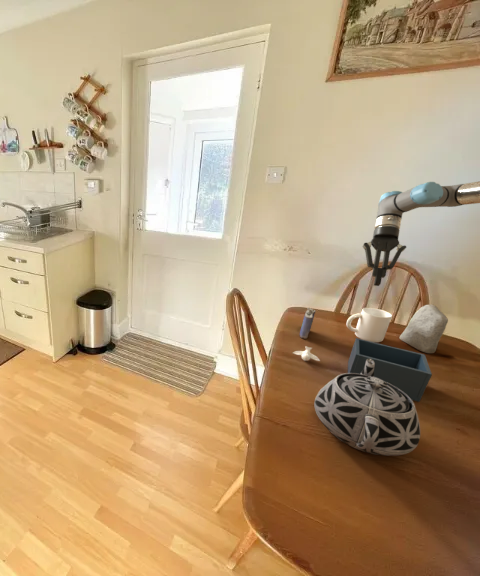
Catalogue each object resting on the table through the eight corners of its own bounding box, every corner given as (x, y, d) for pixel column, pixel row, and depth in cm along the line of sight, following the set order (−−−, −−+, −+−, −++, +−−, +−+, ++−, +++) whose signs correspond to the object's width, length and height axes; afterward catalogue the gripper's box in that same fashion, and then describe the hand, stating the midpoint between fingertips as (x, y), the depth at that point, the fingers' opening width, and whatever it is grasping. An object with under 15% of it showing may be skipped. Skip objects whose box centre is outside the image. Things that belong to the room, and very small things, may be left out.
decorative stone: (439, 355, 105) (457, 315, 99) (418, 353, 105) (435, 314, 100) (413, 338, 115) (429, 301, 109) (395, 337, 115) (409, 300, 110)
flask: (306, 339, 115) (313, 313, 111) (297, 337, 116) (304, 311, 113) (310, 330, 121) (317, 305, 117) (301, 328, 123) (308, 303, 119)
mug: (346, 339, 115) (354, 314, 111) (339, 328, 122) (346, 304, 118) (387, 344, 111) (396, 318, 107) (377, 333, 118) (385, 309, 114)
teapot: (403, 409, 82) (424, 361, 76) (421, 502, 59) (452, 443, 54) (316, 381, 93) (329, 337, 87) (303, 450, 70) (320, 397, 65)
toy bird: (290, 357, 103) (294, 343, 103) (291, 355, 107) (295, 342, 107) (319, 366, 98) (323, 352, 98) (319, 364, 102) (323, 350, 102)
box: (413, 380, 93) (424, 354, 89) (419, 402, 84) (432, 374, 81) (348, 361, 102) (355, 337, 98) (347, 380, 93) (355, 354, 90)
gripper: (367, 224, 125) (357, 278, 121) (412, 226, 118) (403, 284, 114) (363, 232, 131) (353, 284, 127) (405, 234, 124) (396, 290, 120)
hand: (377, 284), depth 121 cm, fingers closed
